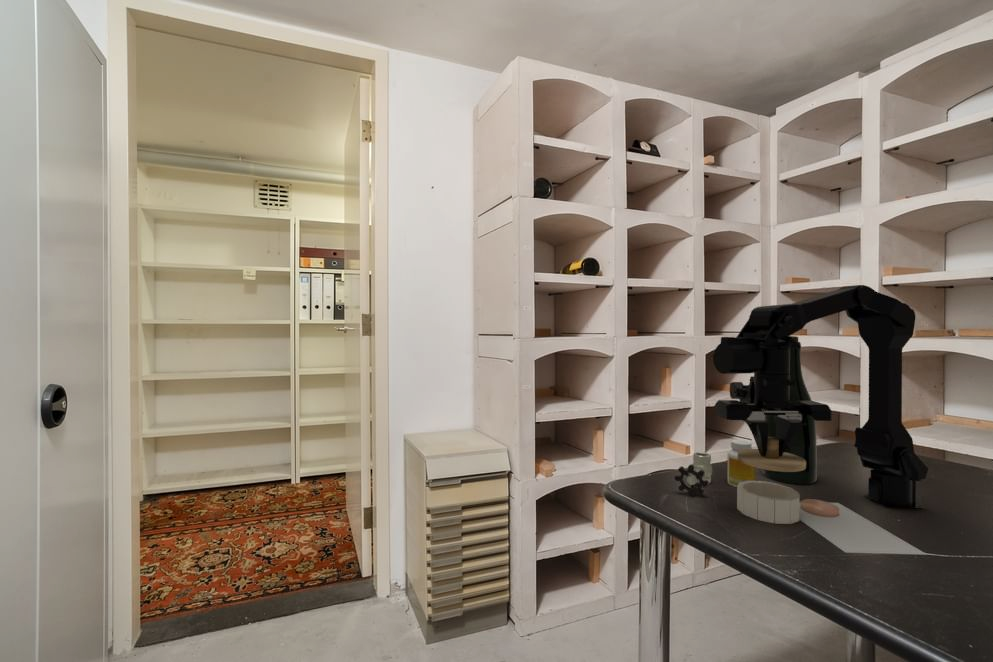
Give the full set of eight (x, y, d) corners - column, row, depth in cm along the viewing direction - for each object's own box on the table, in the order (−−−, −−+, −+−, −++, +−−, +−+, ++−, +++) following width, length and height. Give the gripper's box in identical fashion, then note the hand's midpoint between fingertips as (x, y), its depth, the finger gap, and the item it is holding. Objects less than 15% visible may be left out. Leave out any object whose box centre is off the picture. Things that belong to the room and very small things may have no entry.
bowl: (780, 503, 90) (780, 481, 90) (811, 526, 80) (811, 501, 80) (728, 502, 91) (728, 480, 91) (753, 524, 81) (753, 499, 81)
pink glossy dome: (826, 504, 89) (826, 499, 89) (847, 517, 83) (847, 512, 83) (793, 503, 89) (793, 498, 89) (812, 516, 83) (812, 511, 83)
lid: (820, 472, 79) (821, 446, 79) (757, 471, 80) (757, 446, 80) (782, 454, 90) (783, 431, 90) (726, 453, 91) (727, 431, 91)
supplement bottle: (758, 490, 97) (759, 445, 97) (731, 489, 98) (731, 444, 98) (750, 482, 103) (750, 439, 102) (724, 480, 104) (724, 438, 104)
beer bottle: (828, 485, 100) (829, 336, 100) (786, 488, 99) (787, 336, 98) (791, 470, 111) (791, 335, 110) (752, 472, 109) (752, 335, 108)
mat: (838, 504, 90) (838, 502, 90) (927, 557, 70) (927, 554, 70) (775, 503, 90) (775, 501, 90) (845, 554, 70) (845, 552, 70)
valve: (689, 477, 106) (674, 493, 97) (689, 449, 106) (674, 462, 96) (719, 483, 102) (707, 500, 93) (719, 454, 102) (707, 468, 92)
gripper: (795, 368, 92) (795, 444, 93) (702, 368, 93) (702, 444, 93) (834, 375, 81) (833, 461, 82) (728, 374, 82) (727, 460, 82)
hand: (770, 455), depth 85 cm, fingers closed on lid, 3 cm apart
